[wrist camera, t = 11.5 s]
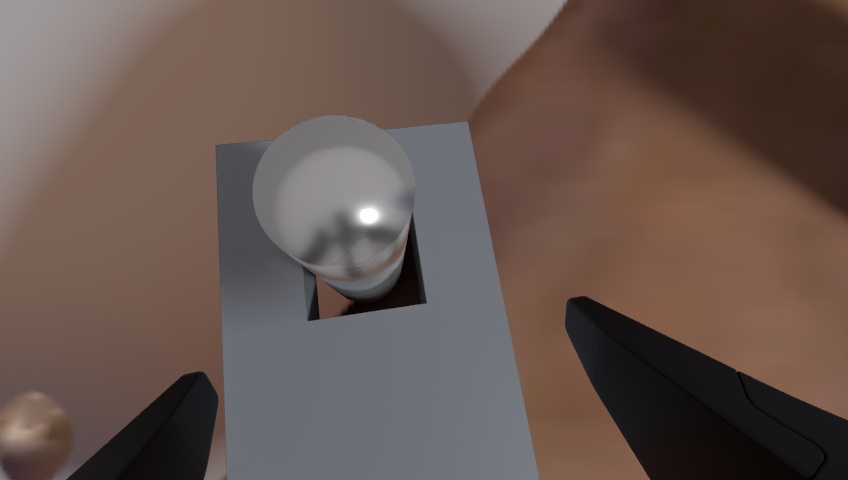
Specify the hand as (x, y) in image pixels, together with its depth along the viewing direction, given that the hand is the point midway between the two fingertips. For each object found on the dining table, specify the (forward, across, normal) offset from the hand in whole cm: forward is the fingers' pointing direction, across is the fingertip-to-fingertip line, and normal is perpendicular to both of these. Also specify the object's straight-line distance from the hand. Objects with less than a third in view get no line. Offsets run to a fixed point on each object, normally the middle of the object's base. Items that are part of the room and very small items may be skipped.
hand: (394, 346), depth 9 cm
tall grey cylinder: (+13, +2, +5) cm, 14 cm away
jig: (+11, +2, +8) cm, 13 cm away
